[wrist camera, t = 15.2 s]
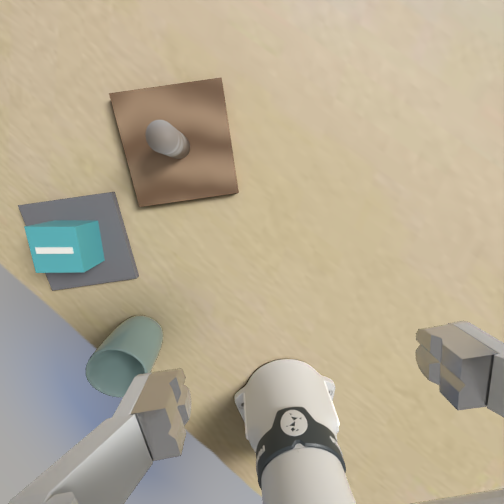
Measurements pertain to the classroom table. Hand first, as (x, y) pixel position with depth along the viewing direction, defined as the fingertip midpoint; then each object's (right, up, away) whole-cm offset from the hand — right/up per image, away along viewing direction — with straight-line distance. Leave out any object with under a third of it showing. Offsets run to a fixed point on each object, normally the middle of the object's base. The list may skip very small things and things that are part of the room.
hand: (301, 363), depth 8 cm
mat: (-27, +5, +28) cm, 39 cm away
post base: (-12, +18, +25) cm, 33 cm away
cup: (-20, -9, +33) cm, 39 cm away
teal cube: (-27, +5, +27) cm, 38 cm away
